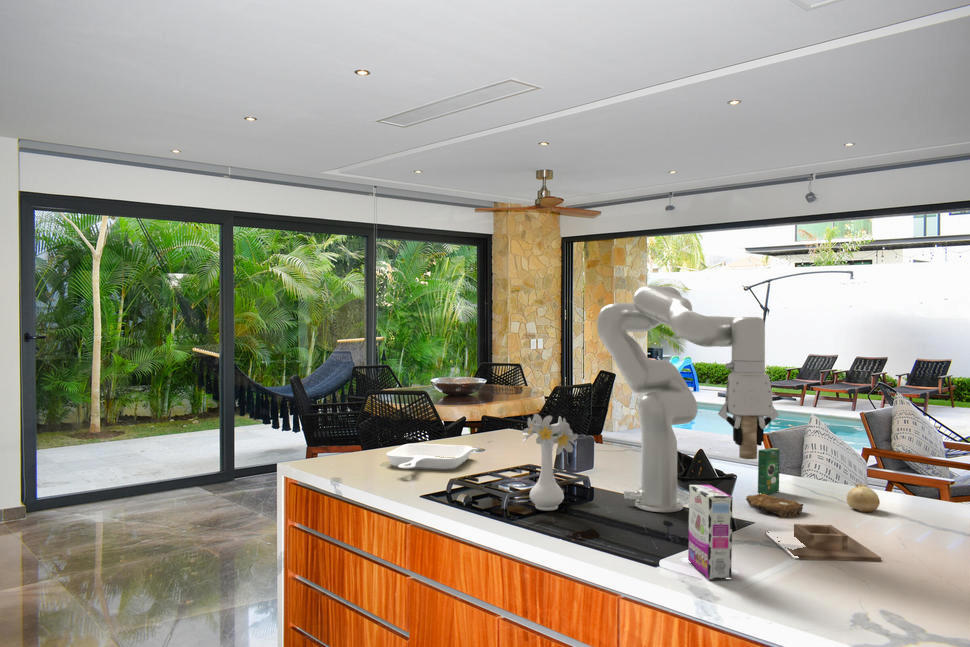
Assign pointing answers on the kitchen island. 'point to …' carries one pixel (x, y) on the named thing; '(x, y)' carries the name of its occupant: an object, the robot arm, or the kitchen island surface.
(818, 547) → the socket block
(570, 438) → the flower vase
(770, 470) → the coffee box
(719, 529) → the candy bar box
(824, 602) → the kitchen island surface
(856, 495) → the onion
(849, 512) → the kitchen island surface
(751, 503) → the decorative rock
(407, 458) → the pan
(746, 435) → the peg
